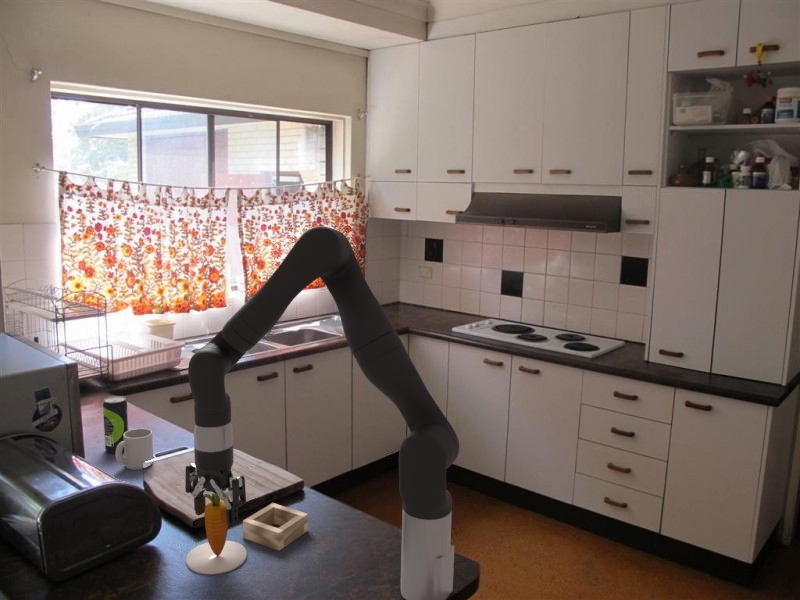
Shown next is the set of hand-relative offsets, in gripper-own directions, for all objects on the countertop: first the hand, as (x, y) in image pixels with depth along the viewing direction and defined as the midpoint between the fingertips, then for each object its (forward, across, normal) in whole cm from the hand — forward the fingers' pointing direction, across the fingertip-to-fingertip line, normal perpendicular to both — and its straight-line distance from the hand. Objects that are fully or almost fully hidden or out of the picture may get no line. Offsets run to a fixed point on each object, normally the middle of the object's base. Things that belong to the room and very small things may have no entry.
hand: (215, 518), depth 143 cm
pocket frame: (+9, -4, -14) cm, 17 cm away
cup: (+9, +51, -22) cm, 56 cm away
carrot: (+8, 0, 0) cm, 8 cm away
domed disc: (+9, 0, 0) cm, 9 cm away
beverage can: (+9, +64, -27) cm, 70 cm away
